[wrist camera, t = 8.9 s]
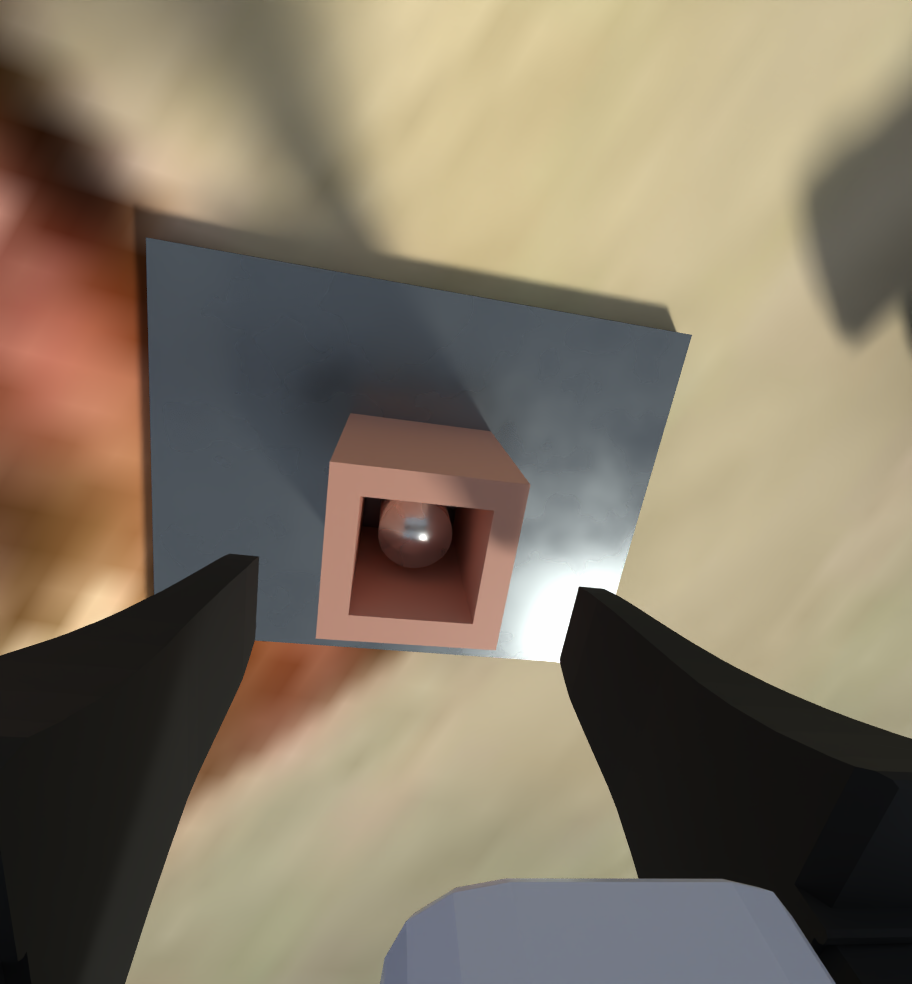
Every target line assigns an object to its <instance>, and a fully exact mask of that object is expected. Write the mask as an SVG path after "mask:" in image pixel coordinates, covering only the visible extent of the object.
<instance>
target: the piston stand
mask: <svg viewBox="0 0 912 984" xmlns="http://www.w3.org/2000/svg"><path fill="white" fill-rule="evenodd" d="M146 265H147V308H148V350H149V393H150V436H151V479H152V521H153V564H154V595H155V594H157V593H159V592H161V591H163V590H164V589H166V588H168V587H170V586H172V585H173V584H175V583H177V582H179V581H181V580H182V579H184V578H186V577H188V576H190V575H191V574H193V573H195V572H197V571H198V570H200V569H202V568H203V567H205V566H207V565H209V564H210V563H212V562H214V561H216V560H218V559H219V558H221V557H223V556H225V555H227V554H239V555H250V556H259V571H258V592H257V613H256V634H255V640H257V641H271V642H285V643H300V644H314V645H328V646H342V647H356V648H370V649H384V650H398V651H412V652H426V653H440V654H454V655H468V656H482V657H496V658H510V659H524V660H538V661H552V662H560V661H559V659H560V655H561V651H562V648H563V644H564V640H565V636H566V633H567V629H568V625H569V621H570V618H571V614H572V610H573V606H574V603H575V599H576V595H577V591H578V588H579V586H581V587H592V588H603V589H605V590H608V591H610V592H612V593H614V594H615V595H616V591H617V588H618V585H619V581H620V578H621V574H622V571H623V568H624V564H625V561H626V557H627V554H628V551H629V547H630V544H631V540H632V537H633V534H634V530H635V527H636V523H637V520H638V517H639V513H640V510H641V506H642V503H643V500H644V496H645V493H646V489H647V486H648V483H649V479H650V476H651V472H652V469H653V466H654V462H655V459H656V455H657V452H658V449H659V445H660V442H661V438H662V435H663V432H664V428H665V425H666V421H667V418H668V415H669V411H670V408H671V404H672V401H673V398H674V394H675V391H676V387H677V384H678V380H679V377H680V374H681V370H682V367H683V363H684V360H685V357H686V353H687V350H688V346H689V343H690V340H691V336H692V335H689V334H683V333H678V332H672V331H667V330H661V329H655V328H650V327H644V326H639V325H633V324H627V323H622V322H616V321H611V320H605V319H599V318H594V317H588V316H583V315H577V314H571V313H566V312H560V311H555V310H549V309H543V308H538V307H532V306H527V305H521V304H515V303H510V302H504V301H499V300H493V299H487V298H482V297H476V296H471V295H465V294H459V293H454V292H448V291H443V290H437V289H431V288H426V287H420V286H415V285H409V284H403V283H398V282H392V281H387V280H381V279H375V278H370V277H364V276H359V275H353V274H347V273H342V272H336V271H331V270H325V269H319V268H314V267H308V266H303V265H297V264H291V263H286V262H280V261H275V260H269V259H263V258H258V257H252V256H247V255H241V254H235V253H230V252H224V251H219V250H213V249H207V248H202V247H196V246H191V245H185V244H179V243H174V242H168V241H163V240H157V239H152V238H146ZM350 413H353V414H361V415H369V416H377V417H384V418H392V419H400V420H407V421H415V422H423V423H431V424H438V425H446V426H454V427H462V428H469V429H477V430H485V431H491V432H492V434H493V435H494V436H495V438H496V439H497V440H498V442H499V443H500V444H501V446H502V447H503V448H504V450H505V451H506V452H507V454H508V455H509V456H510V458H511V459H512V460H513V462H514V463H515V464H516V466H517V467H518V468H519V470H520V471H521V473H522V474H523V475H524V477H525V478H526V479H527V481H528V482H529V483H530V490H529V494H528V499H527V504H526V509H525V513H524V518H523V523H522V528H521V533H520V537H519V542H518V547H517V552H516V557H515V561H514V566H513V571H512V576H511V580H510V585H509V590H508V595H507V600H506V604H505V609H504V614H503V619H502V623H501V628H500V633H499V638H498V643H497V647H496V650H483V649H468V648H452V647H437V646H422V645H407V644H391V643H376V642H361V641H345V640H330V639H316V629H317V617H318V604H319V591H320V579H321V566H322V553H323V541H324V528H325V515H326V503H327V490H328V478H329V465H330V460H331V457H332V455H333V453H334V450H335V448H336V446H337V443H338V441H339V439H340V436H341V434H342V432H343V429H344V427H345V425H346V422H347V420H348V418H349V415H350ZM455 511H456V506H447V505H437V504H428V503H418V502H409V501H400V500H390V499H381V498H371V497H365V504H364V514H363V524H362V526H364V527H374V528H379V532H378V538H379V543H380V546H381V549H382V550H383V552H384V554H385V555H386V556H387V557H388V558H389V559H390V560H391V561H393V562H394V563H396V564H398V565H400V566H404V567H408V568H421V567H426V566H429V565H431V564H433V563H435V562H437V561H438V560H439V559H441V558H442V557H443V556H444V555H445V553H446V552H447V550H448V549H449V547H450V544H451V541H452V530H453V524H454V518H455Z"/></svg>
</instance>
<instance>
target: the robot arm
mask: <svg viewBox="0 0 912 984" xmlns="http://www.w3.org/2000/svg"><path fill="white" fill-rule="evenodd" d="M258 571H259V556H250V555H239V554H227V555H225V556H223V557H221V558H219V559H218V560H216V561H214V562H212V563H210V564H209V565H207V566H205V567H203V568H202V569H200V570H198V571H197V572H195V573H193V574H191V575H190V576H188V577H186V578H184V579H182V580H181V581H179V582H177V583H175V584H173V585H172V586H170V587H168V588H166V589H164V590H163V591H161V592H159V593H157V594H155V595H153V596H151V597H149V598H147V599H145V600H143V601H141V602H139V603H137V604H135V605H133V606H131V607H129V608H127V609H125V610H123V611H120V612H118V613H116V614H114V615H112V616H109V617H107V618H105V619H102V620H100V621H98V622H95V623H93V624H90V625H88V626H85V627H83V628H80V629H78V630H75V631H73V632H70V633H68V634H65V635H62V636H59V637H57V638H54V639H51V640H47V641H44V642H41V643H38V644H35V645H32V646H29V647H26V648H23V649H20V650H17V651H13V652H10V653H7V654H4V655H1V656H0V984H125V982H126V979H127V976H128V973H129V969H130V966H131V963H132V960H133V957H134V954H135V951H136V948H137V945H138V942H139V939H140V935H141V932H142V929H143V926H144V923H145V920H146V917H147V914H148V911H149V908H150V905H151V902H152V899H153V896H154V893H155V890H156V887H157V884H158V881H159V879H160V876H161V873H162V870H163V867H164V864H165V861H166V858H167V855H168V852H169V849H170V846H171V844H172V841H173V838H174V835H175V832H176V830H177V827H178V824H179V821H180V818H181V815H182V813H183V810H184V807H185V804H186V801H187V799H188V796H189V794H190V791H191V789H192V787H193V784H194V782H195V780H196V777H197V775H198V773H199V771H200V768H201V766H202V764H203V762H204V760H205V758H206V756H207V754H208V752H209V749H210V747H211V745H212V743H213V741H214V739H215V737H216V735H217V733H218V730H219V728H220V726H221V724H222V722H223V720H224V718H225V716H226V714H227V711H228V709H229V707H230V705H231V703H232V701H233V699H234V696H235V694H236V692H237V690H238V688H239V686H240V683H241V681H242V679H243V676H244V673H245V670H246V667H247V664H248V660H249V657H250V654H251V651H252V647H253V644H254V641H255V634H256V613H257V592H258ZM559 661H560V665H561V668H562V672H563V676H564V680H565V684H566V687H567V691H568V694H569V697H570V700H571V703H572V705H573V707H574V710H575V712H576V714H577V717H578V719H579V722H580V724H581V726H582V729H583V731H584V733H585V735H586V738H587V740H588V742H589V744H590V747H591V749H592V751H593V753H594V756H595V758H596V760H597V763H598V765H599V767H600V769H601V772H602V774H603V776H604V778H605V781H606V783H607V785H608V788H609V790H610V793H611V795H612V798H613V800H614V803H615V806H616V808H617V811H618V814H619V817H620V820H621V823H622V826H623V830H624V833H625V836H626V839H627V842H628V845H629V848H630V851H631V854H632V858H633V861H634V864H635V868H636V871H637V875H638V878H639V879H553V878H506V879H500V880H495V881H489V882H484V883H478V884H473V885H468V886H462V887H457V888H454V889H453V890H451V891H449V892H448V893H446V894H445V895H443V896H441V897H440V898H438V899H436V900H435V901H433V902H431V903H430V904H428V905H427V906H425V907H423V908H422V909H420V910H418V911H417V912H415V913H414V914H413V915H412V916H411V917H410V918H409V919H408V920H407V921H406V922H405V924H404V926H403V928H402V929H401V931H400V933H399V934H398V936H397V938H396V940H395V941H394V943H393V945H392V946H391V948H390V950H389V952H388V953H387V955H386V957H385V959H384V965H383V970H382V976H381V981H380V984H912V739H911V738H907V737H904V736H901V735H898V734H895V733H892V732H889V731H886V730H883V729H880V728H877V727H875V726H872V725H869V724H866V723H863V722H860V721H857V720H854V719H852V718H849V717H846V716H844V715H841V714H839V713H836V712H833V711H831V710H828V709H826V708H823V707H821V706H818V705H816V704H814V703H811V702H809V701H806V700H804V699H802V698H799V697H797V696H795V695H792V694H790V693H788V692H785V691H783V690H781V689H779V688H777V687H774V686H772V685H770V684H768V683H766V682H764V681H762V680H760V679H758V678H756V677H754V676H752V675H750V674H748V673H746V672H744V671H742V670H740V669H738V668H736V667H734V666H732V665H730V664H729V663H727V662H725V661H723V660H721V659H719V658H718V657H716V656H714V655H713V654H711V653H709V652H707V651H706V650H704V649H702V648H700V647H699V646H697V645H695V644H694V643H692V642H690V641H689V640H687V639H686V638H684V637H682V636H681V635H679V634H677V633H676V632H674V631H673V630H671V629H670V628H668V627H666V626H665V625H663V624H662V623H660V622H659V621H657V620H655V619H654V618H652V617H651V616H649V615H648V614H646V613H645V612H643V611H642V610H640V609H638V608H637V607H635V606H634V605H632V604H631V603H629V602H627V601H626V600H624V599H622V598H621V597H619V596H617V595H615V594H614V593H612V592H610V591H608V590H605V589H603V588H592V587H581V586H579V588H578V591H577V595H576V599H575V603H574V606H573V610H572V614H571V618H570V621H569V625H568V629H567V633H566V636H565V640H564V644H563V648H562V651H561V655H560V659H559Z"/></svg>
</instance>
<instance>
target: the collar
mask: <svg viewBox="0 0 912 984" xmlns="http://www.w3.org/2000/svg"><path fill="white" fill-rule="evenodd" d="M529 490H530V483H529V482H528V481H527V479H526V478H525V477H524V475H523V474H522V473H521V471H520V470H519V468H518V467H517V466H516V464H515V463H514V462H513V460H512V459H511V458H510V456H509V455H508V454H507V452H506V451H505V450H504V448H503V447H502V446H501V444H500V443H499V442H498V440H497V439H496V438H495V436H494V435H493V434H492V432H491V431H485V430H477V429H469V428H462V427H454V426H446V425H438V424H431V423H423V422H415V421H407V420H400V419H392V418H384V417H377V416H369V415H361V414H353V413H350V415H349V418H348V420H347V422H346V425H345V427H344V429H343V432H342V434H341V436H340V439H339V441H338V443H337V446H336V448H335V450H334V453H333V455H332V457H331V460H330V465H329V478H328V490H327V503H326V515H325V528H324V541H323V553H322V566H321V579H320V591H319V604H318V617H317V629H316V639H330V640H345V641H361V642H376V643H391V644H407V645H422V646H437V647H452V648H468V649H483V650H496V647H497V643H498V638H499V633H500V628H501V623H502V619H503V614H504V609H505V604H506V600H507V595H508V590H509V585H510V580H511V576H512V571H513V566H514V561H515V557H516V552H517V547H518V542H519V537H520V533H521V528H522V523H523V518H524V513H525V509H526V504H527V499H528V494H529ZM365 497H371V498H381V499H390V500H400V501H409V502H418V503H428V504H437V505H447V506H456V511H455V518H454V524H453V530H452V541H451V544H450V547H449V549H448V550H447V552H446V553H445V555H444V556H443V557H442V558H441V559H439V560H438V561H437V562H435V563H433V564H431V565H429V566H426V567H421V568H408V567H404V566H400V565H398V564H396V563H394V562H393V561H391V560H390V559H389V558H388V557H387V556H386V555H385V554H384V552H383V550H382V549H381V546H380V543H379V538H378V532H379V528H374V527H364V526H362V524H363V514H364V504H365Z"/></svg>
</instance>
